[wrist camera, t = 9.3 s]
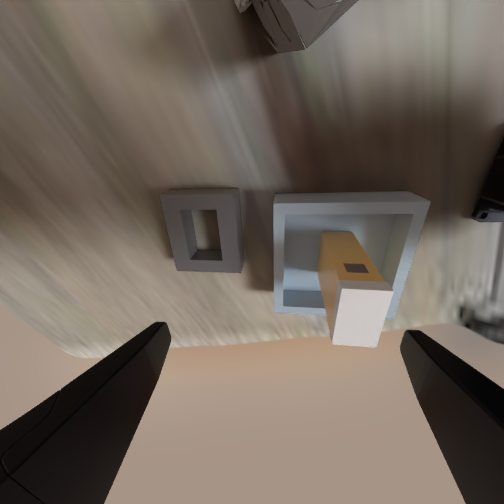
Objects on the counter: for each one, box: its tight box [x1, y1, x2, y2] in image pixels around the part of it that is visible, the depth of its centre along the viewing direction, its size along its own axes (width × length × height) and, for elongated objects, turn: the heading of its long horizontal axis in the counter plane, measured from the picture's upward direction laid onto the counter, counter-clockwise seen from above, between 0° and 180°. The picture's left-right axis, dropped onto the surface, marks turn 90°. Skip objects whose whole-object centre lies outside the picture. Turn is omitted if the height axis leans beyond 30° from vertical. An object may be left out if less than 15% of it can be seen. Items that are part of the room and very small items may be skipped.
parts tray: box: [273, 191, 431, 319], centre depth 19 cm, size 10×10×3 cm
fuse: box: [317, 231, 394, 348], centre depth 16 cm, size 2×4×8 cm, turn 2°
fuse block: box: [159, 188, 244, 273], centre depth 20 cm, size 6×7×2 cm
